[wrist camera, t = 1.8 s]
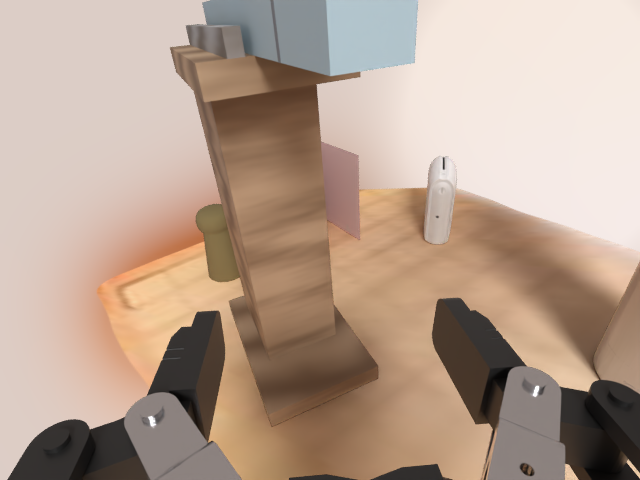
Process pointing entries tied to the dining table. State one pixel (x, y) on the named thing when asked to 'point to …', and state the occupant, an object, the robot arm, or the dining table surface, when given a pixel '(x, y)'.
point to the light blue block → (323, 31)
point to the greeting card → (341, 188)
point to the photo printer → (440, 200)
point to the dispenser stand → (274, 219)
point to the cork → (217, 243)
